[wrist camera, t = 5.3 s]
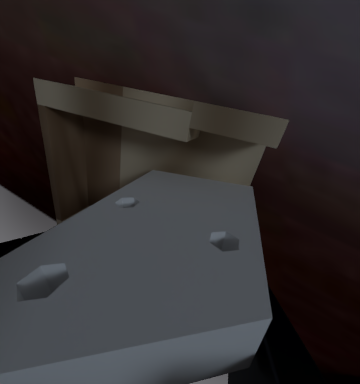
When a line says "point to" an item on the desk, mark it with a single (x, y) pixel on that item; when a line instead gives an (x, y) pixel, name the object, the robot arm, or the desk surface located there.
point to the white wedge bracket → (138, 288)
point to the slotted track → (141, 140)
